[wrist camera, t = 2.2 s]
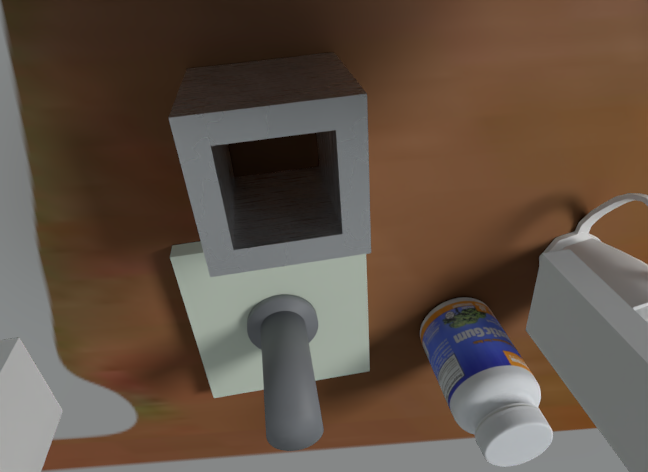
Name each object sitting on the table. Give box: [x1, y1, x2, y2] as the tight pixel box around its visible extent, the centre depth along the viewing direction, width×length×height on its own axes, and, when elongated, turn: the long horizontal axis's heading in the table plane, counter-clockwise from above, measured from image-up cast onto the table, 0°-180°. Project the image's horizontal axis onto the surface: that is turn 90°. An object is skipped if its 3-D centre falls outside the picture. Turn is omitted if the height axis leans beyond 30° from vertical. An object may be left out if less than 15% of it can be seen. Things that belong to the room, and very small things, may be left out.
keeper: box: [170, 241, 370, 451], centre depth 27 cm, size 12×11×9 cm
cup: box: [539, 193, 648, 323], centre depth 28 cm, size 7×10×8 cm
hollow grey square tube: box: [169, 52, 371, 277], centre depth 22 cm, size 7×7×7 cm
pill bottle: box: [420, 297, 553, 466], centre depth 30 cm, size 5×5×10 cm
